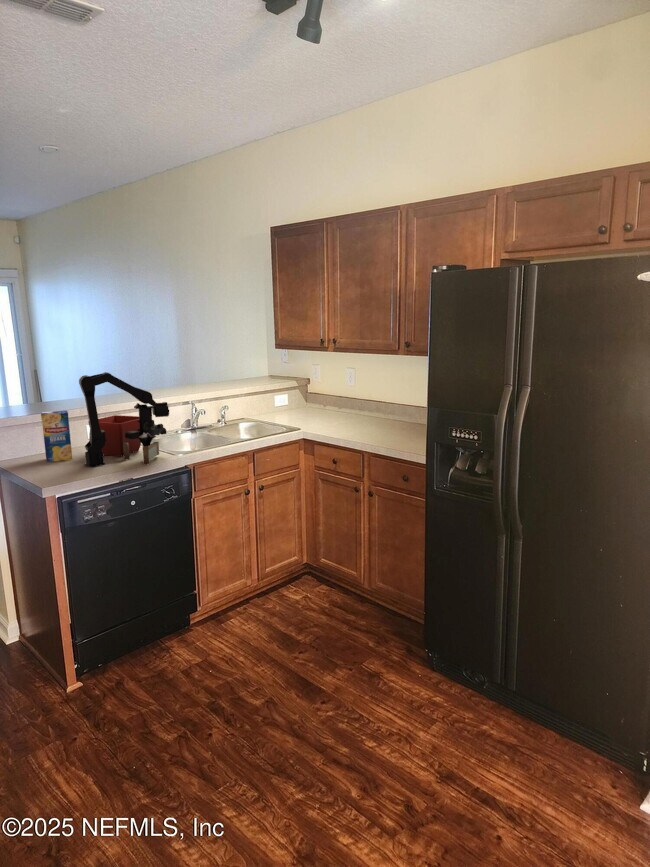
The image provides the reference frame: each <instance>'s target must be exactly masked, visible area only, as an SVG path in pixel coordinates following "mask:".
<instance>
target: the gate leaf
mask: <svg viewBox="0 0 650 867" xmlns="http://www.w3.org/2000/svg"><path fill="white" fill-rule="evenodd" d="M148 451H149V461H151V460H152V459H154V458H155V457H157V456H159V455H160V443H159V441H153V442H151V444H150V445H148Z"/></svg>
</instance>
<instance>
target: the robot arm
mask: <svg viewBox="0 0 650 867" xmlns="http://www.w3.org/2000/svg"><path fill="white" fill-rule="evenodd" d="M105 383H109V384H110V385H112V386H114V387H117V388H118V389H120V390H121V391H122V390H123V391H124V392H126V393H128V394H130V395H131V396H132V397H133V398H135V399H136V400H137V401H139V402H140V403H141V404H140V403H139V402H137V403H136V404H135V405H134V406H133V408H134V409H136V410H138V416H139V420H137V421H138V422H139V429H138V431H140V432H137V431H127V432H126V433H125V438H129V439H137V438H139V440H140V441H141V445H142V447H143V446H148V445H150V444H152V440H153V439H154V438H157V436H160V435H162V436H163V435H167V429H166V427H164V424H162V423H158V424H155V420H154V419H153V416H155V418H163V417H164V418H166V417H167V418H168V417H169V416H170V409H169V405H168V401H163V402H156V401H155V400H154V399H153V393H151V392H150V391H148V390H146V389H142V388H139V387H137V386H136V387H135V386H134V385H131V384H129V383H127V382H125V381H124V380H122V379H120V378H118V377H116V376H114V375H112V374H111V373H110V372H106V371H105V372H103V373H98V374H93V375H86V374H85V375H82V376H80V378H79V379H78V385H79V388H80V390H81V392H82V393H83V394H82V395H83V397H84V401H85V407H86V411H87V412H86V413H87V417H88V418H87V419H88V421H89V422H88V425H89V424H90V426H89V440H88V442H87V443H86V444H85V445H84V448H85V450H86V451H85V452H84V456H85V463H84V464H83V465H84V466H86V467H90V468H95V467H101V466H103V465H106V463H105V462H104V460H105V459H104V455H103V454H102V451H101V449H102V448H103V447H104V446H105V441H107V440H106V438H105V431H104V430H101V429H100V426H99V420H98V419H99V416H98V410H97V404H96V398H95V395H96V386H99V385H102V384H105Z"/></svg>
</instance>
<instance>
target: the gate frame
mask: <svg viewBox="0 0 650 867" xmlns="http://www.w3.org/2000/svg"><path fill="white" fill-rule="evenodd" d="M123 450H124V456H123V459H128V460H130V454H129V444H128V443H123ZM142 458H143V465H144V464H145V465H146V466H147V464H148V465H150V460H149V451H148V446H143V445H142Z"/></svg>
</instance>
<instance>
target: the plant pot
mask: <svg viewBox="0 0 650 867" xmlns="http://www.w3.org/2000/svg"><path fill="white" fill-rule="evenodd" d="M98 420H99V426H100V429H101V430H104V431H105V438H106V440H107V441H105V446H104V447H103V448H102V449H101V451H102V454H103V456H111V457H112V456H113V457H124V450H123V443H128V444H129V455H130V454H134V453H137V451H138V452H139V451H140V448H141V445H142V443H141V441H140V440H139V438H137V439H129V438H125V433H126V432H127V431H137V432H140V431H138V429H139V422H138V421H137V420H139V415H138V416H137V415H121V414H120V415H119V414H118V415H117V414H115V415H114V414H113V415H110V416H104V417H100V418H98ZM88 426H89V427H90V424H89V420H88Z"/></svg>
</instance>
